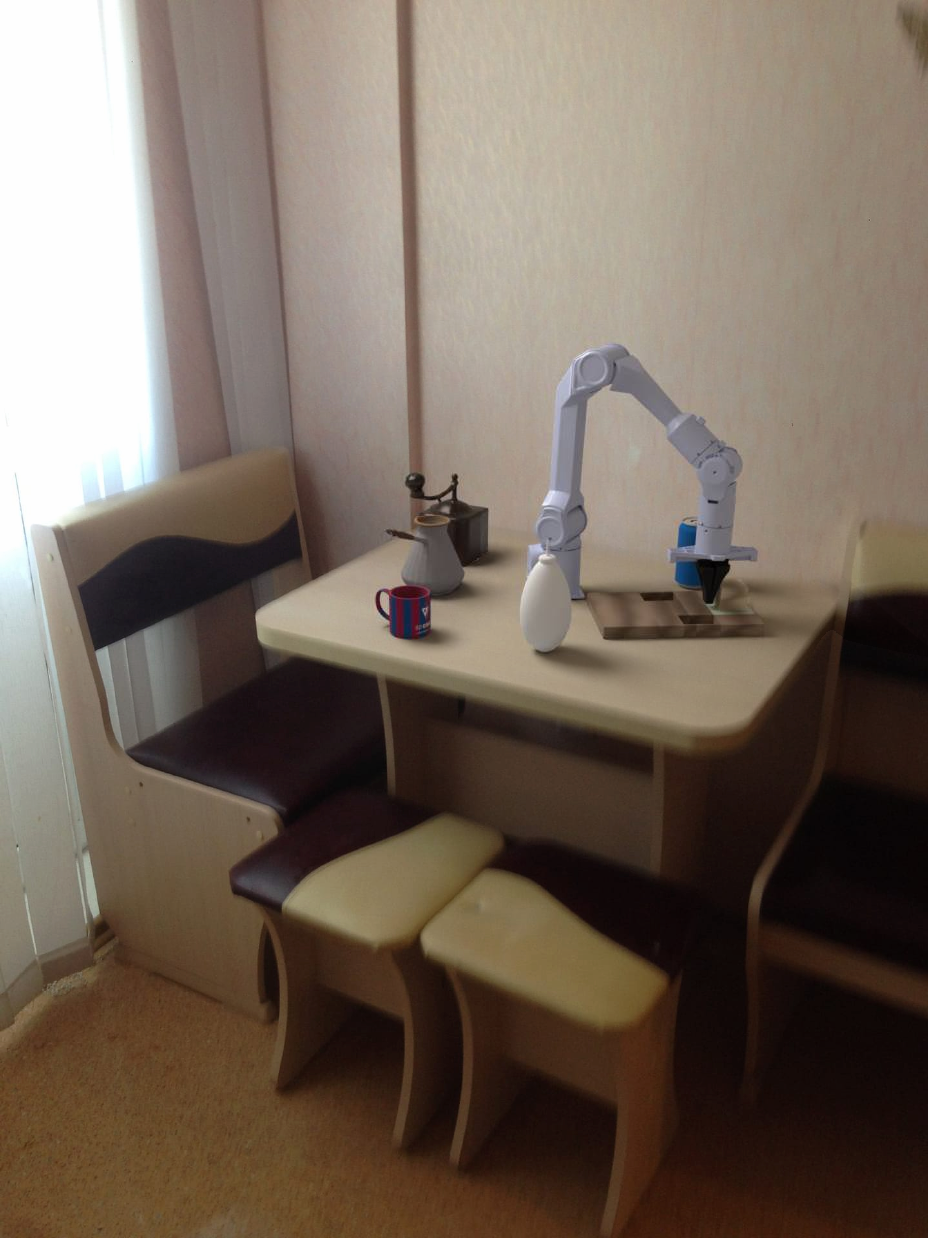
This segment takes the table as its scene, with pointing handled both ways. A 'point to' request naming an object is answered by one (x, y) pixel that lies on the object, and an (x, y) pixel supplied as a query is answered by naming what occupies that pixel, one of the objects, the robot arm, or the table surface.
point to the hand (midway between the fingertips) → (707, 602)
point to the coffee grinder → (456, 518)
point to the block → (731, 596)
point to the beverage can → (687, 569)
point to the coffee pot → (431, 556)
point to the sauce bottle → (545, 604)
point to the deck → (667, 616)
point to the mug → (407, 611)
